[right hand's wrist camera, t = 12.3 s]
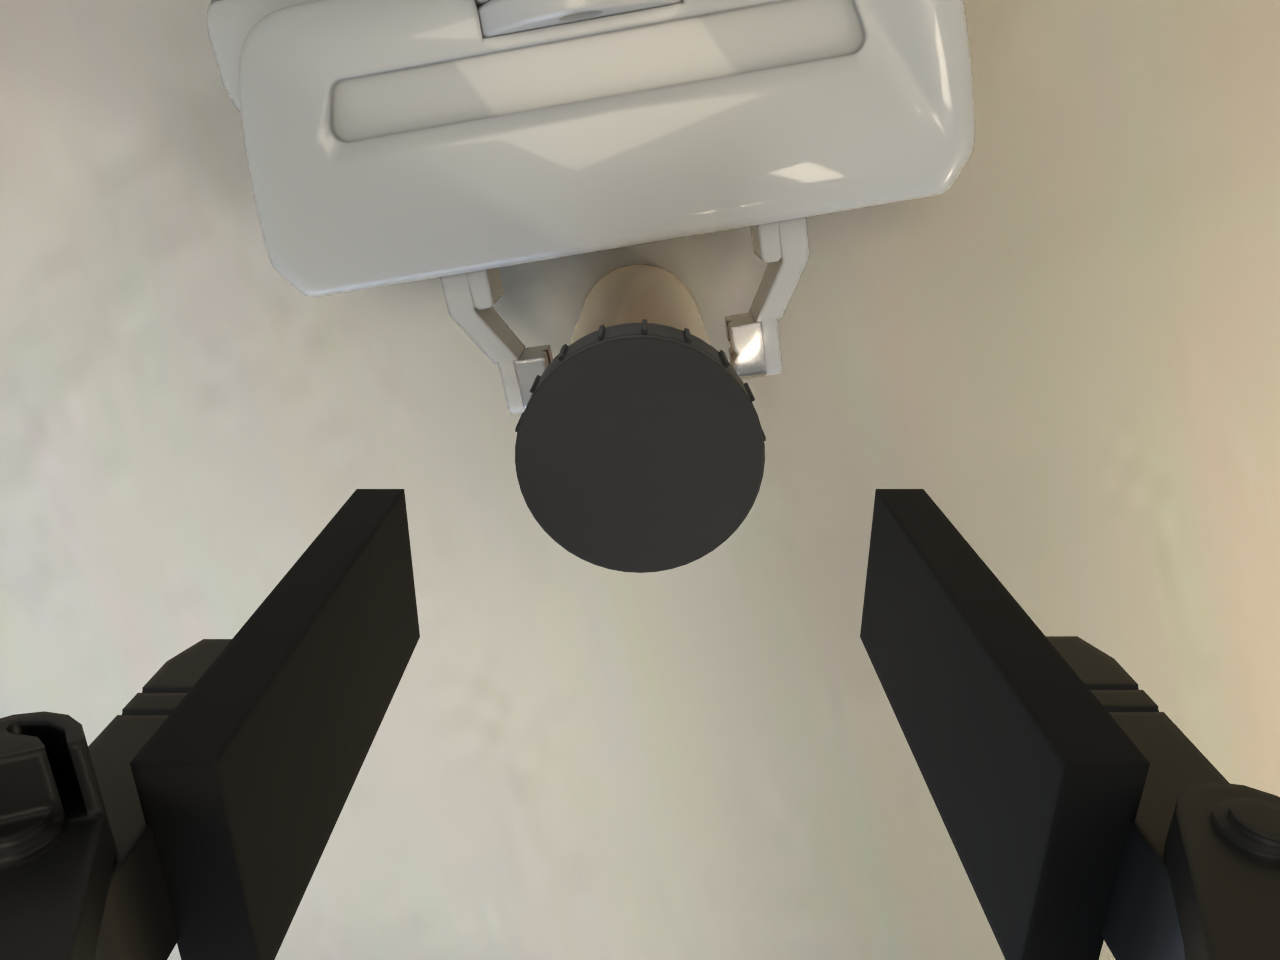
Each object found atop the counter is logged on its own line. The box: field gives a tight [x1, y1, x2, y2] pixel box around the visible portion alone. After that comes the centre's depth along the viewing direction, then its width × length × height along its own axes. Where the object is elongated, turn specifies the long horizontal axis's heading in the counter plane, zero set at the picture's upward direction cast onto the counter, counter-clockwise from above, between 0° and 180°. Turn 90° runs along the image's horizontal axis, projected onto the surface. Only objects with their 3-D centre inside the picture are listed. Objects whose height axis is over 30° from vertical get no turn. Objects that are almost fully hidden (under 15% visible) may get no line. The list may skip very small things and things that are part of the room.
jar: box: [569, 265, 711, 346], centre depth 26 cm, size 5×5×15 cm
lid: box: [515, 319, 766, 573], centre depth 20 cm, size 6×6×2 cm
